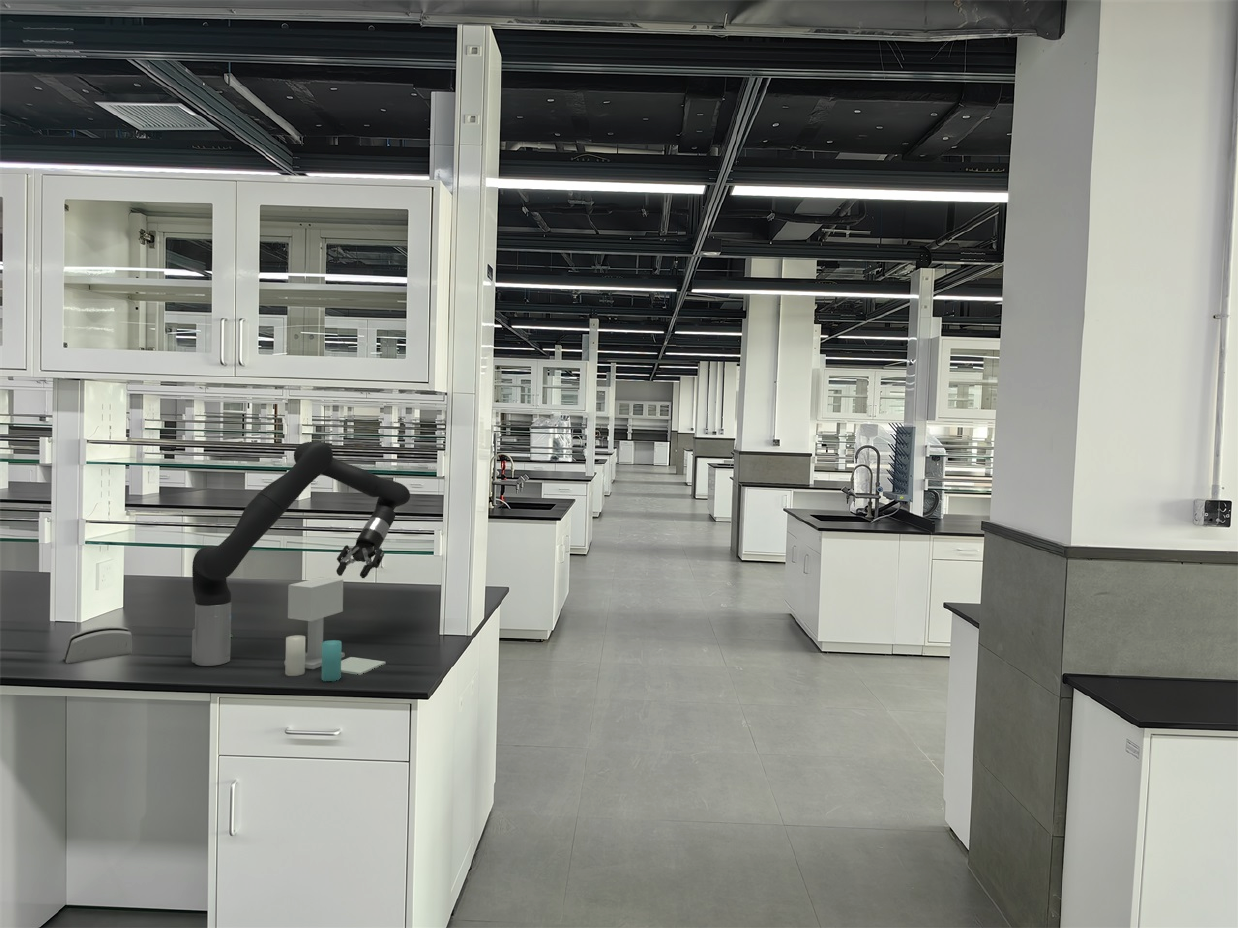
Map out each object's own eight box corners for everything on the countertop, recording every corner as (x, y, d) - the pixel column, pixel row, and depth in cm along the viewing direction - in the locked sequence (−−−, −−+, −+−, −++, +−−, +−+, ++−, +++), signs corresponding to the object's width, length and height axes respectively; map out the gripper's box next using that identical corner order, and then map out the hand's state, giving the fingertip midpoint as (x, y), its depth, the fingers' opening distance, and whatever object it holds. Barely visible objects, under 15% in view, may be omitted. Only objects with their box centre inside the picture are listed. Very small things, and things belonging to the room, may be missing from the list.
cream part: (281, 674, 224) (281, 638, 224) (293, 669, 229) (294, 634, 229) (296, 676, 223) (296, 640, 222) (308, 671, 228) (309, 636, 227)
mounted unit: (284, 664, 233) (285, 584, 232) (318, 652, 247) (319, 576, 246) (313, 669, 230) (314, 587, 229) (345, 656, 244) (347, 579, 243)
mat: (324, 669, 230) (324, 667, 230) (350, 658, 241) (351, 656, 241) (360, 674, 226) (360, 672, 226) (385, 663, 238) (385, 661, 238)
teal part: (317, 680, 221) (318, 643, 220) (329, 675, 225) (330, 639, 225) (332, 682, 219) (333, 645, 219) (344, 677, 224) (345, 641, 223)
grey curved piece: (127, 649, 243) (131, 620, 241) (132, 657, 241) (136, 628, 238) (61, 659, 231) (65, 629, 229) (65, 668, 228) (69, 637, 226)
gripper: (349, 525, 262) (325, 566, 252) (387, 528, 258) (364, 570, 247) (359, 540, 267) (336, 580, 257) (396, 543, 263) (374, 584, 253)
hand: (350, 575), depth 252 cm, fingers open, 8 cm apart
